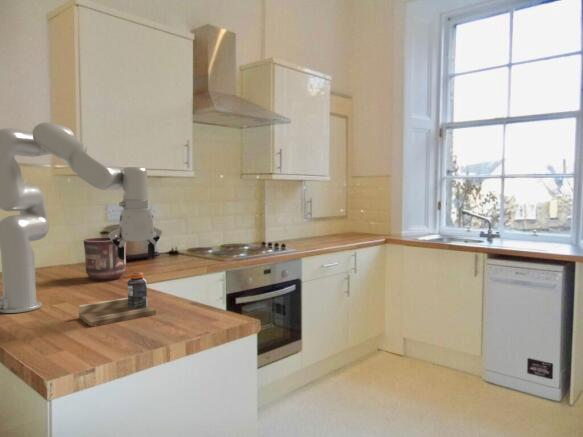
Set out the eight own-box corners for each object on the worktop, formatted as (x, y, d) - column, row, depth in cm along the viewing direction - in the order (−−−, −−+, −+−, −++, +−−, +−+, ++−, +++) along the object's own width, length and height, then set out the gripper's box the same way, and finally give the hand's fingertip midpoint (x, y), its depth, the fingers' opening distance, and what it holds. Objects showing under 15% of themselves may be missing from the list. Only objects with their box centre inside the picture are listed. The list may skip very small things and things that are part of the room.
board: (90, 327, 132) (90, 313, 132) (79, 318, 141) (78, 305, 141) (156, 314, 145) (155, 302, 144) (141, 307, 154) (141, 295, 154)
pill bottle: (149, 304, 151) (148, 271, 150) (144, 309, 145) (143, 274, 144) (131, 304, 151) (130, 271, 150) (125, 309, 145) (124, 275, 144)
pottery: (118, 282, 194) (117, 241, 193) (77, 282, 194) (76, 241, 193) (132, 275, 211) (132, 236, 210) (95, 275, 211) (94, 236, 210)
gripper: (112, 206, 137) (113, 262, 139) (165, 205, 148) (166, 256, 150) (104, 205, 143) (105, 259, 144) (156, 204, 154) (157, 254, 155)
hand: (136, 257), depth 147 cm, fingers open, 9 cm apart
